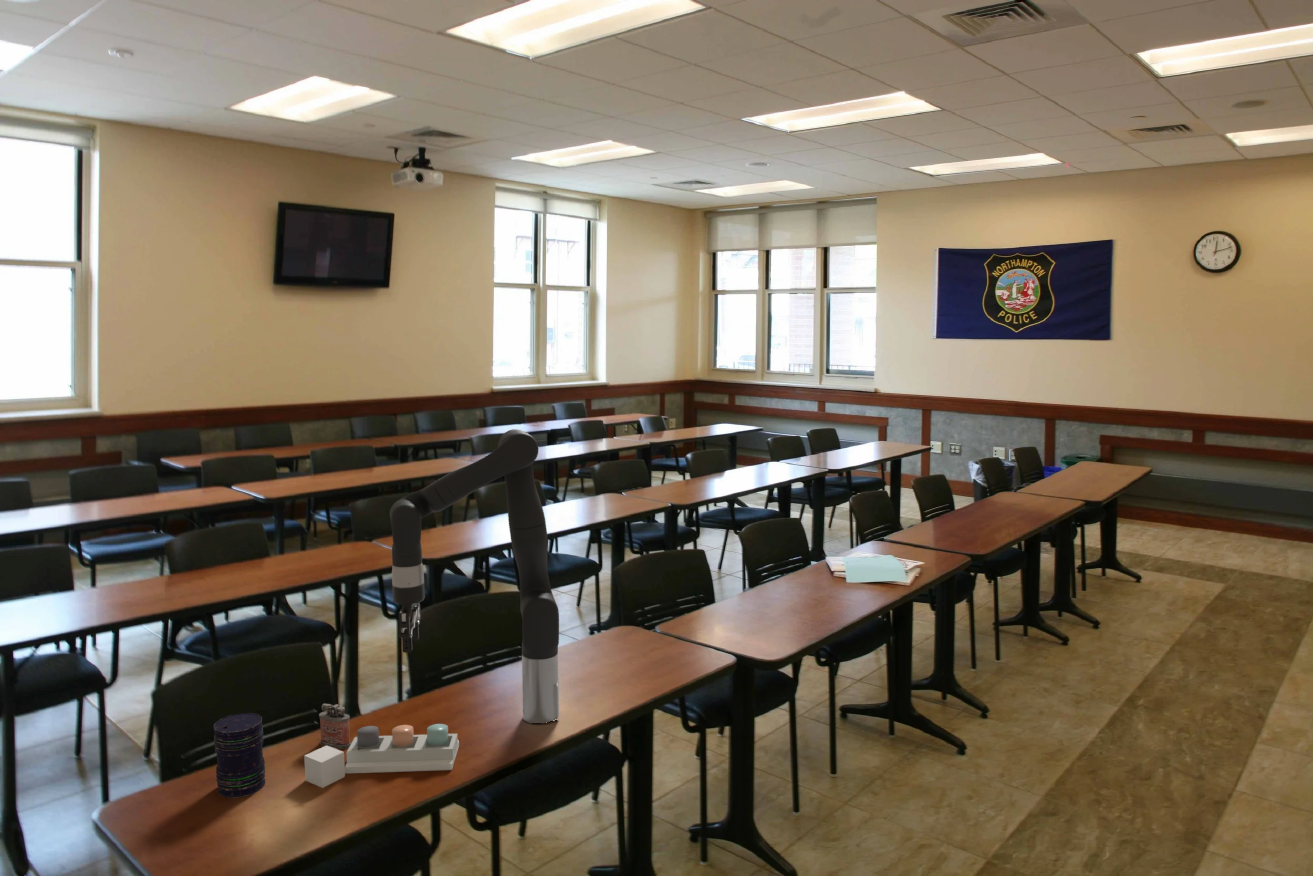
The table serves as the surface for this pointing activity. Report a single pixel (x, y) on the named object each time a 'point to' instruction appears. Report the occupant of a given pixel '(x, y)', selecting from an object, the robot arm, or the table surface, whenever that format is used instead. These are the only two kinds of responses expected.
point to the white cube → (324, 766)
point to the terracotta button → (402, 735)
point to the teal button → (437, 734)
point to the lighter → (334, 727)
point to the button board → (402, 756)
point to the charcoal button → (368, 736)
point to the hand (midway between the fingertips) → (411, 646)
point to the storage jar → (239, 755)
